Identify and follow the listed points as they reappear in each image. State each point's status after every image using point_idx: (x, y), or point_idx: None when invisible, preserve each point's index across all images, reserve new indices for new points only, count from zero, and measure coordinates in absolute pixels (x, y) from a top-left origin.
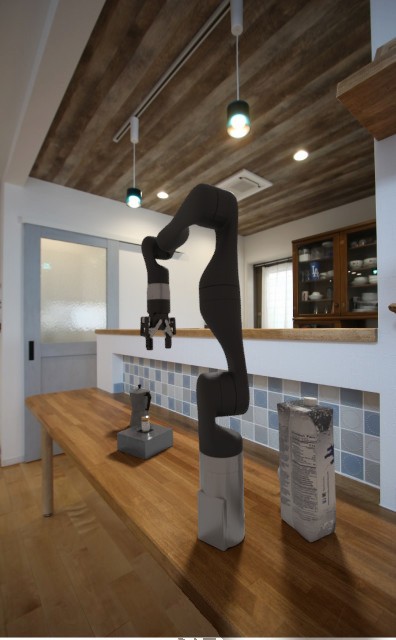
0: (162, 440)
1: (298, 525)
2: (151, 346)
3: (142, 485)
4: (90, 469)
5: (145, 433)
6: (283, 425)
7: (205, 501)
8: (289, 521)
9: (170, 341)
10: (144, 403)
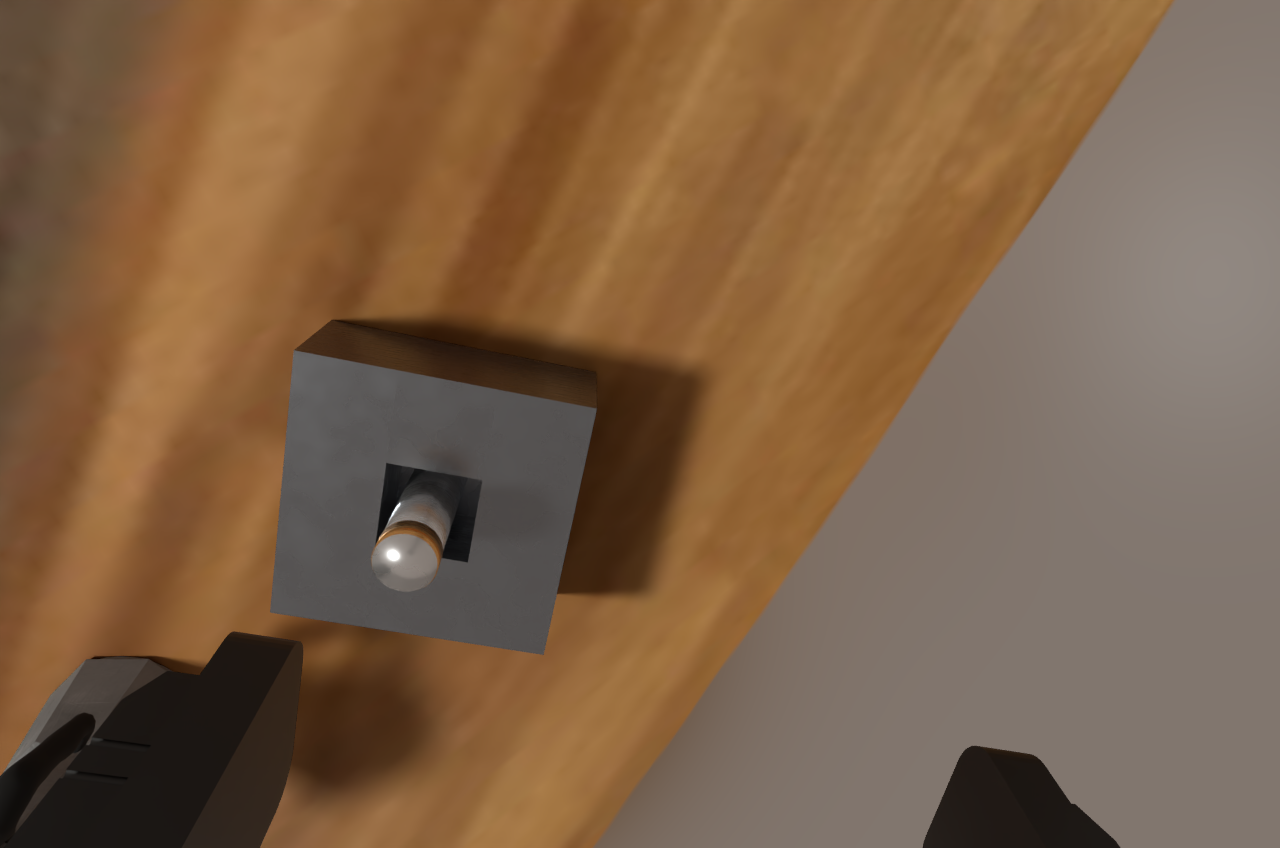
0: (430, 359)
1: None
2: (1077, 815)
3: (855, 221)
4: (792, 566)
5: (450, 495)
6: None
7: None
8: None
9: (172, 779)
10: (46, 793)
